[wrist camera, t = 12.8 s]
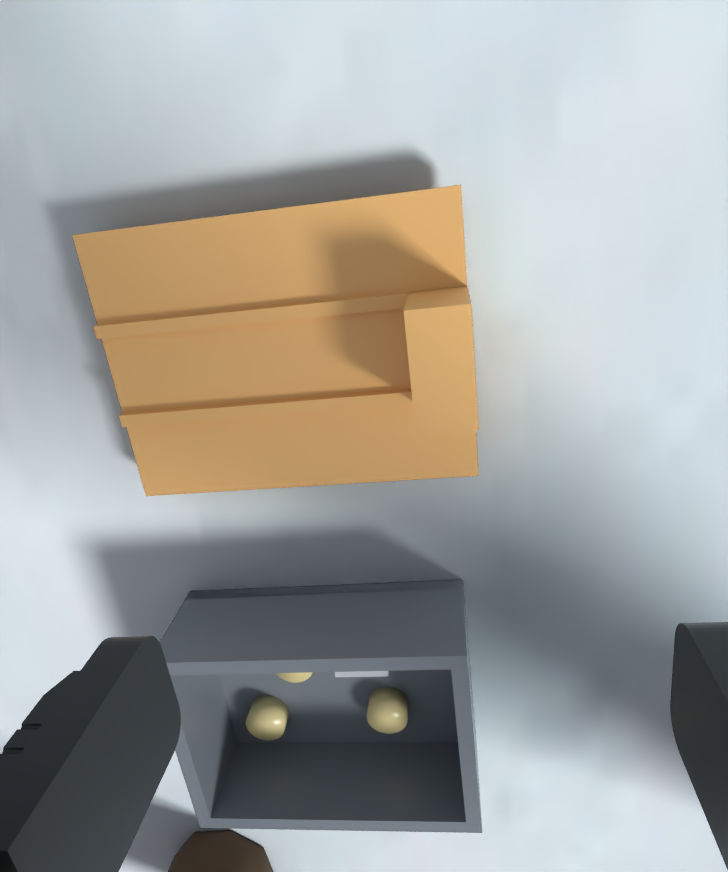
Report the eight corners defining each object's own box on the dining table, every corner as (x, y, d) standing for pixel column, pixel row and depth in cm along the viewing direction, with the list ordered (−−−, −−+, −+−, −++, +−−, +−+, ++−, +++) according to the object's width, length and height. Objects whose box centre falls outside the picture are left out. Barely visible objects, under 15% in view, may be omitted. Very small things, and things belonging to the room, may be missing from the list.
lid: (459, 183, 28) (464, 187, 22) (475, 454, 32) (483, 517, 26) (99, 230, 30) (16, 244, 24) (165, 474, 35) (108, 536, 29)
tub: (462, 579, 35) (466, 655, 30) (476, 740, 39) (482, 832, 34) (190, 591, 37) (147, 663, 32) (231, 741, 42) (200, 827, 36)
